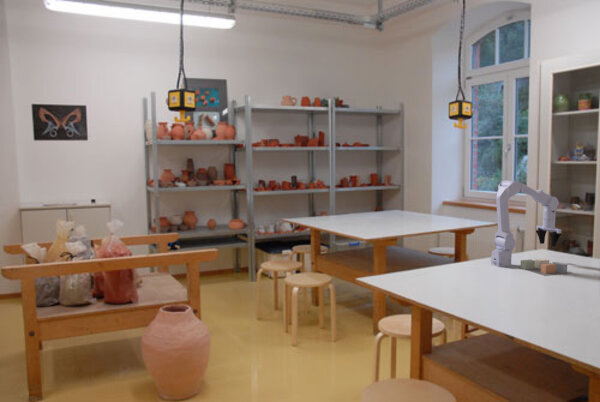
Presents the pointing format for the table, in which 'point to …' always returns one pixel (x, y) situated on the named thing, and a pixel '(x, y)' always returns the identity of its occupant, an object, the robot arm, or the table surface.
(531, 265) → the sage brick
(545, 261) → the cream brick
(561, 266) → the bluegrey brick
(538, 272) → the mat
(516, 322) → the table surface
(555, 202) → the robot arm
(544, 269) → the terracotta brick
